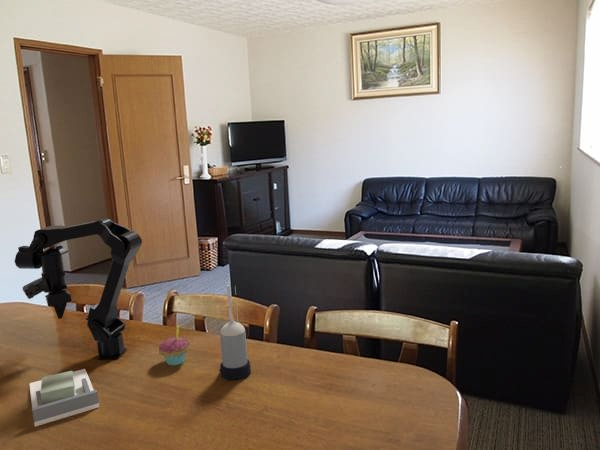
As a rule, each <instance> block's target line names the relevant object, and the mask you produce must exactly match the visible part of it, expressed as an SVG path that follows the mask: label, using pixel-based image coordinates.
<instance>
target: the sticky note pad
mask: <svg viewBox="0 0 600 450" xmlns="http://www.w3.org/2000/svg"><path fill="white" fill-rule="evenodd" d="M73 372H74V371H73V370H68V371H64V372H59V373H55V374H50V375H46V376H42V377H41V380H42V384H41V398H42V405H44V404H48V403H51V402H55V401H58V400H62V399H65V398H69V397H72V396H75V387H74V379H73Z"/></svg>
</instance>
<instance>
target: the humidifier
mask: <svg viewBox="0 0 600 450" xmlns="http://www.w3.org/2000/svg"><path fill="white" fill-rule="evenodd" d="M226 290H227V301H228V308H227V309H228V310H227V311H228V312H227V313H228V318H229V321H228V322H227V323H225V324H224V325H223V326H222V327H221V329H220V332H219V336H220V337H219V338H220V348H221V349H220V350H221V363H220V367H219V370H218V371H219V373H220V377H221V379H222V380H225V381H228V382H236V381H241V380H244V379H247V378H249V376H250V375H251V373H252V372H251V371H252V367H251V362H250V360H249V359H248V350H247V349H248V347H247V336H246V335H247V334H246V329H245V327H244V326H243V325H242V323H240V322H239V321H238V319H239V315H238V312H236V316H237V319H236V321H235V319H234V316H233V301H232V295H231V286H230V284H227V285H226ZM234 290H235V291H234V292H235V294H237V292H236V290H237V289H236V286H234ZM235 302H236V304H237V308H236V309H239V308H238V306H239V304H238V302H237V301H235Z"/></svg>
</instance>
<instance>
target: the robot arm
mask: <svg viewBox="0 0 600 450" xmlns="http://www.w3.org/2000/svg"><path fill="white" fill-rule="evenodd" d="M95 235H97V236H99V237H100V238H101V240H102V241H103V243H104V244H105V245H106V246H108V247H110V257H111V261H112V262H111V264H110V268H109V271H108V274H107V278H106V280H105V284H104V287H103V291H102V293H101V296H100V300H99V301H98V302H97V303H95V304H94V305H92V306H90V307H89V310H88V314H87V315H88V316H87V317H86V318H85V321H86V326H87V328H88V330H89V331H90V333H91V335H92V337H93V340H94V341H95V342H96V346H97V347H96V348H97V353H98V356H97V359H98V360H109V359H110V360H118V359H120V358H121V357H122V355H123V354H124V353H126V351H127V349H128V348H127V347H125V343H124V337H123V336H124V335H123V331H125V330H126V329H125V328H126V322H124V321H123V320H122V319H121V318H120V317H119V316H118V315H119V314H118V312H119V310H118V307H117V306H118V305H117V303H118V300H119V297H120V294H121V291H122V287H123V285H124V281H125V278H126V276H127V272H128V270H129V269H128V268H129V266H130V264H131V261H132V260H133V259H134V258H135V256H136V255H137V254H138V252H139V251H140V249H141V246H142V245H143V239H142V238H141V236H140V234H139V233H137V231H133V230H131V229H130V228H128V227H126V226H124V225H121V224H119V223H116V222H115V221H113V220H111V219H110V218H106V217H105V218H101V219H98V220H93V221H89V222H85V223H79V224H78V223H77V224H74V225H69V226H68V225H49V226H46V227H43V228H40V229H37V230H35V231H34V233H33V238H32V240H31V242H30V244H29V245H22V246H19V247H18V251H17V252H16V255H15V258H14V264H15V266H16V267H17V268H18V269H23V270H25V269H26V270H27V269H28V270H33V269H34V270H37V269H38V270H39V269H41V271H42V272H41V273H40V274H41V277H39V278H37V279H35V280H33V281H31V282H28V283H27V284H25V285H24V286H22V291H23V292H24V294H25V296H26V297H27V299H28V300H30V299H33V298H34V297H36V296H37V295H39V294H41V293H42V292H44V293H45V294H46V295H44V297H45V299H46V305H47V306H48V307H50V306H53V310H54V312H55V314H56V317H57V319H58V320H61V319H63V316H64V313H65V311H66V308H67V304H68V303H71V302H72V295H71V293H70V291H68V290H67V289H68V284H67V283H66V271H65V270H64V262H63V256H62V255H64V254H67V253H68V252H69V250H68V249H66V248H65V247H63V246H62V245H59V244H62V243H64V242H66V241H70V240H75V239H80V238H85V237H90V236H95ZM57 245H58V246H57ZM53 246H56V247H55V248H54V247H53ZM51 247H52V248H51Z"/></svg>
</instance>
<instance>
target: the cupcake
mask: <svg viewBox="0 0 600 450" xmlns="http://www.w3.org/2000/svg"><path fill="white" fill-rule="evenodd" d="M179 324H180V322H177V324H176V330H175V331H176V333H175V336H174V337H169V338H166V339H164V340H163V341H162V342H161V343H160V344H159V346H158V354H160V355H161V356H163V357H164V359H165V361H166V364H168V365H169V366H178V365H182V364H183V363H184V361H185V358H186V354H187V352H188V351H189V349H190V345H191V344H190V342H189V341H188V340H187V339H185V338H183V337H182V336H179V331H180V325H179Z"/></svg>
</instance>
